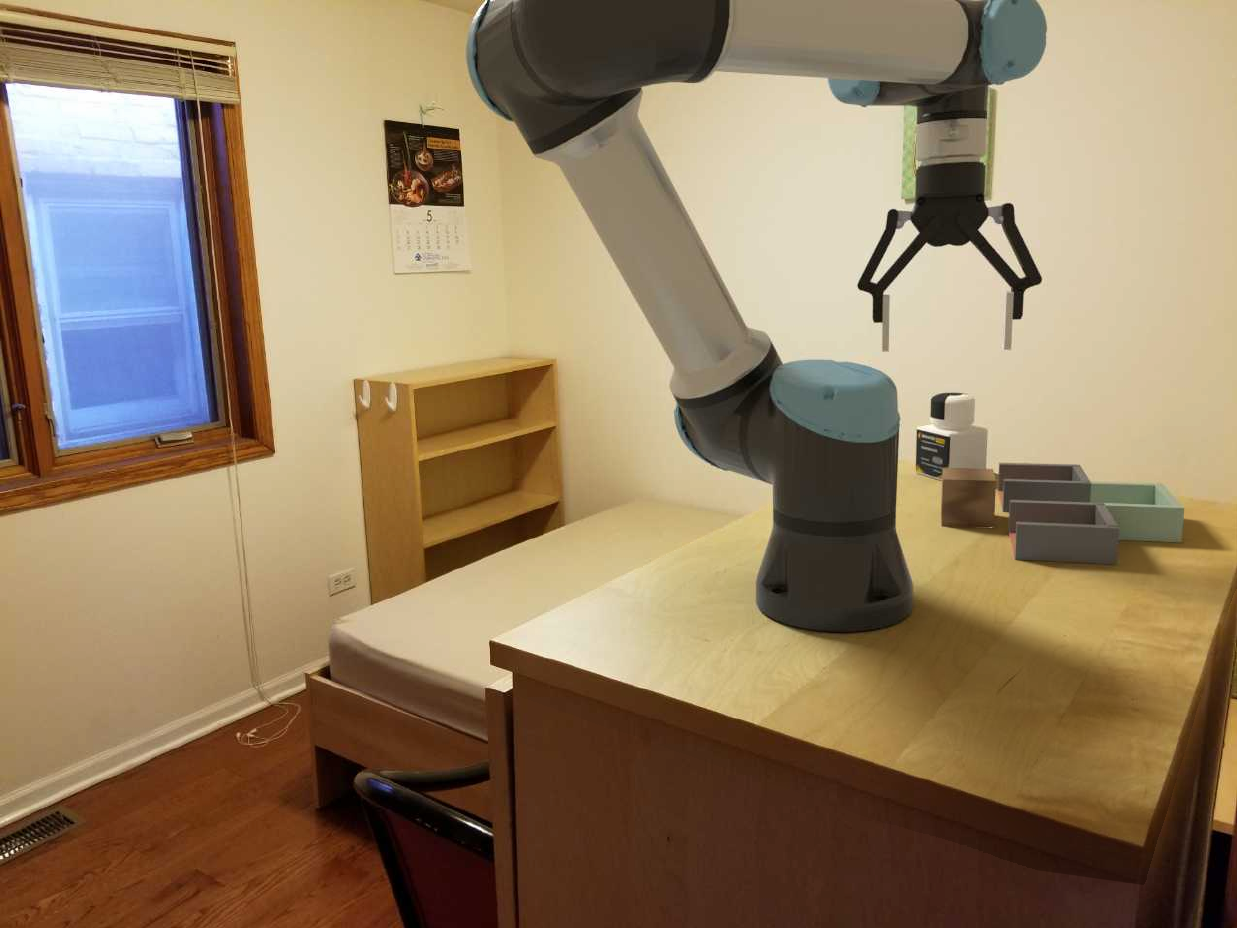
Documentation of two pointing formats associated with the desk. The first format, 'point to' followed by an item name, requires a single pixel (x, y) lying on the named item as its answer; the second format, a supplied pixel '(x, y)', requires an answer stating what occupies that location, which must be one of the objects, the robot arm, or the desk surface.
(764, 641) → the desk surface
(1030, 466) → the box
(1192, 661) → the desk surface
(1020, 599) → the desk surface
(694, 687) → the desk surface
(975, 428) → the medicine bottle
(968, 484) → the walnut block
